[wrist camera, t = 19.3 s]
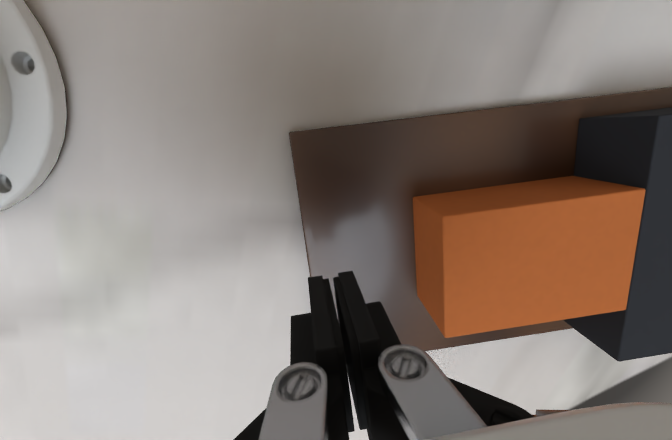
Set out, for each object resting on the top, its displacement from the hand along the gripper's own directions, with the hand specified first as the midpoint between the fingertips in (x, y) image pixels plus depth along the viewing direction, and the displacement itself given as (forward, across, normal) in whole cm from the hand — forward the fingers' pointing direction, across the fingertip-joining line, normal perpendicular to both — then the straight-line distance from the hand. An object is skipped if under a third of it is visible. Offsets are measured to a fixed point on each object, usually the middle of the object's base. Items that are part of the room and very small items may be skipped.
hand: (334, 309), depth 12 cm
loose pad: (+6, -10, +1) cm, 11 cm away
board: (+6, -11, +1) cm, 13 cm away
